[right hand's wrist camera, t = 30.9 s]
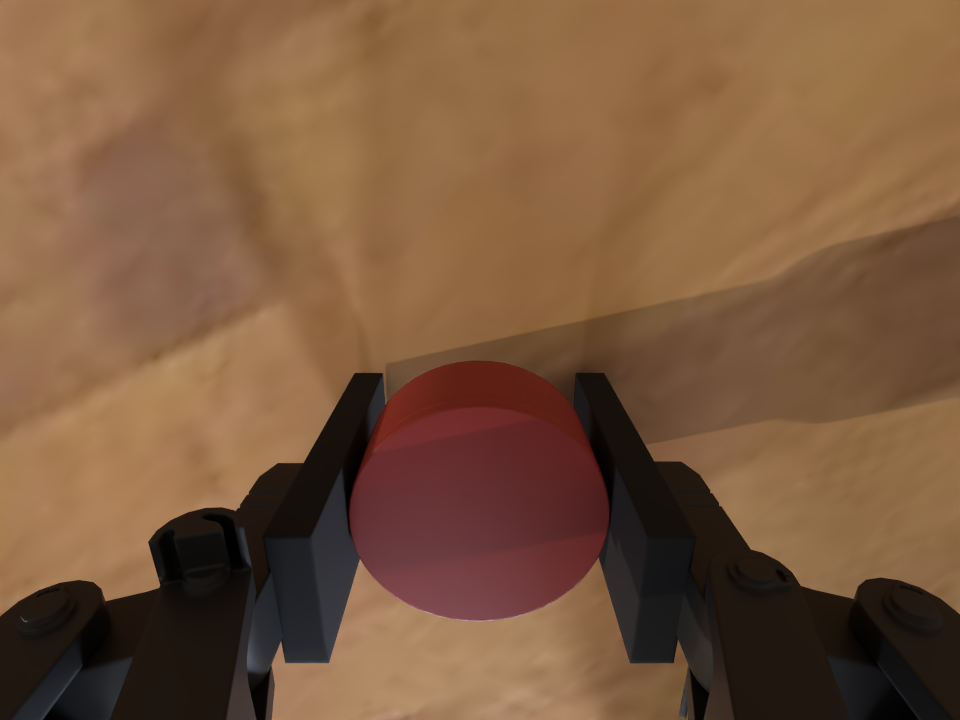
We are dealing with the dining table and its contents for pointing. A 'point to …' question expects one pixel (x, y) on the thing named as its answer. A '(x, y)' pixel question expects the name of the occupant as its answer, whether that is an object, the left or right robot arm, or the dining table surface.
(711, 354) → the dining table surface
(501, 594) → the lid
